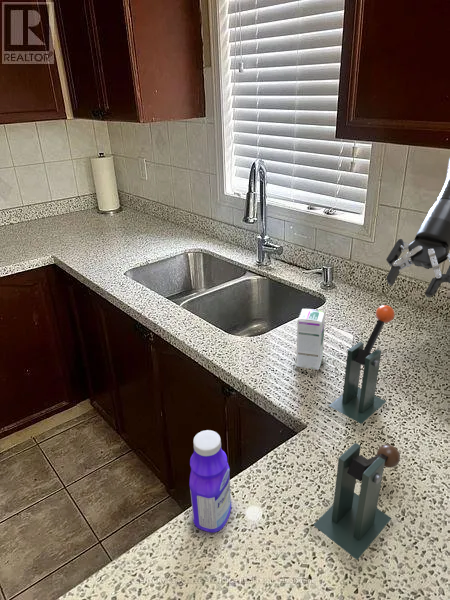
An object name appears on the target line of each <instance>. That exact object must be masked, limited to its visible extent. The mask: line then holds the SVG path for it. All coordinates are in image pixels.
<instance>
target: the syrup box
mask: <svg viewBox="0 0 450 600" xmlns="http://www.w3.org/2000/svg"><path fill="white" fill-rule="evenodd" d="M325 322H326V311H325V310H322V309H321V310H320V309H316V308H315V309H313V308H302V309H301V310H300V313H299V315H298V318H297V329H296V358H295V366H296V367H297V368H303V369H310V370H317V371H319V370H320V369H321V366H322V363H323V362H322V361H323V357H324V356H323V355H324V339H325V324H326V323H325Z"/></svg>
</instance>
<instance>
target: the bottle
mask: <svg viewBox="0 0 450 600" xmlns="http://www.w3.org/2000/svg"><path fill="white" fill-rule="evenodd" d="M192 443H193V453H192V454H191V456H190V459H189V466H190V474H189V484H188V485H189V492H190V501H191V510H192V521H193V524H194V526H195V527H196V528H197V529H199V530H201V531H204V532H208V533H211V534H213V533H217V532H220V531H221V530H222V529H223V528H224V527H225V526H226V523H228V520H229V518H230V516H231V511H232V497H231V496H232V495H231V479H230V477H231V476H230V475H231V474H230V472H231V470H230V469H231V468H230V465H229V462H228V456H227V454H226V452H225V450H224V449H222V439H221V436H220V434H219V433H218V432H217V431H214V430H211V429H206V430H201V431H200V432H197V433H196V434H195V436H194V437H193V442H192Z"/></svg>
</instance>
